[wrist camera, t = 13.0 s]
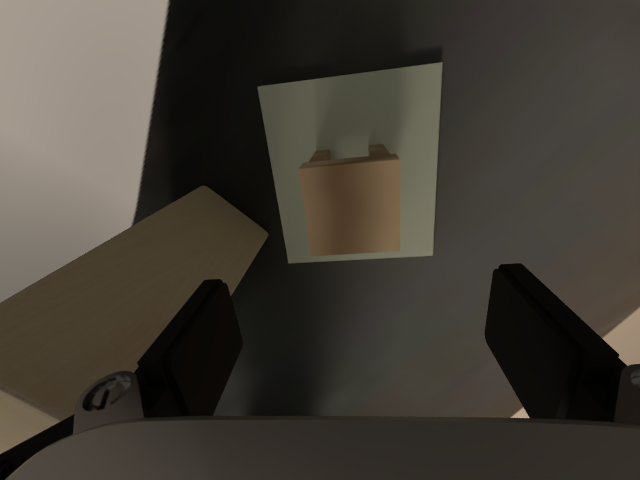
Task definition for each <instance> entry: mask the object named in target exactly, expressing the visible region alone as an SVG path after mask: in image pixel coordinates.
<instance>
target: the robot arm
mask: <svg viewBox="0 0 640 480" xmlns="http://www.w3.org/2000/svg"><path fill="white" fill-rule="evenodd" d="M485 339H486V342H487V344H488V346H489V348H490V350H491V351H492V353H493V355H494V357H495V358H496V360H497V362H498V364H499V365H500V367H501V369H502V370H503V372H504V374H505V376H506V377H507V379H508V381H509V383H510V384H511V386H512V388H513V390H514V391H515V393H516V395H517V397H518V398H519V400H520V402H521V404H522V405H523V407H524V409H525V410H526V412H527V414H528V416H529V417H530V418H488V417H403V416H213V413H214V411H215V409H216V406H217V404H218V402H219V400H220V397H221V395H222V393H223V390H224V388H225V386H226V383H227V381H228V379H229V376H230V374H231V372H232V370H233V367H234V365H235V363H236V360H237V358H238V356H239V353H240V351H241V349H242V343H243V341H242V336H241V332H240V328H239V325H238V321H237V318H236V314H235V310H234V307H233V303H232V299H231V296H230V292H229V288H228V285H227V283H225V282H224V283H223V281H222V280H221V279H208V280H204V281H203V282H202V283H201V284H200V285H199V287H198V288H197V289H196V290H195V292H194V293H193V294H192V295H191V297H190V298H189V299H188V300H187V301H186V303H185V304H184V305H183V306H182V308H181V309H180V310H179V311H178V313H177V314H176V315H175V316H174V317H173V319H172V320H171V321H170V322H169V324H168V325H167V326H166V327H165V329H164V330H163V331H162V332H161V333H160V335H159V336H158V337H157V338H156V340H155V341H154V342H153V343H152V345H151V346H150V347H149V348H148V349H147V351H146V352H145V353H144V354H143V356H142V357H141V358H140V359H139V361H138V362H137V364H138V366H139V367H138V368H137V369H136V370H135V372H134V373H133V372H131V371H119V372H115V373H112V374H109V375H107V376H105V377H103V378H101V379H99V380H98V381H96V382H95V383H93V384H92V385H91V386H89V387H88V388H87V389H86V390H85V391H84V392H83V393H82V394H81V396H80V397H79V399H78V400H77V403H76V406H75V414H73V415H72V416H70V417H68V418H66V419H64V420H62V421H60V422H59V423H57V424H55V425H53V426H51V427H49V428H48V429H46V430H44V431H42V432H40V433H38V434H36V435H35V436H33V437H31V438H29V439H27V440H25V441H24V442H22V443H20V444H18V445H16V446H14V447H12V448H11V449H9V450H7V451H5V452H3V453H1V454H0V480H640V364H634V365H629V366H627V365H626V364H625V363H623V362H622V361H621V360H620V359H619V358H618V357H619V354H618V353H617V352H616V351H615V350H614V349H612V348H611V347H610V346H609V345H608V344H607V343H606V342H605V341H604V340H603V339H602V338H601V337H600V336H599V335H598V334H597V333H595V332H594V331H593V330H592V329H591V328H590V327H589V326H588V325H587V324H586V323H585V322H584V321H583V320H581V319H580V318H579V317H578V316H577V315H576V314H575V313H574V312H573V311H572V310H571V309H570V308H569V307H568V306H566V305H565V304H564V303H563V302H562V301H561V300H560V299H559V298H558V297H557V296H556V295H555V294H554V293H553V292H551V291H550V290H549V289H548V288H547V287H546V286H545V285H544V284H543V283H542V282H541V281H540V280H539V279H537V278H536V277H535V276H534V275H533V274H532V273H531V272H530V271H529V270H528V269H527V268H526V267H525V266H524V265H522V264H519V263H518V264H501V265H500V266H499V268H498V269H495V270H494V271H493V276H492V284H491V291H490V298H489V305H488V312H487V319H486V326H485Z"/></svg>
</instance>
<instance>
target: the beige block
mask: <svg viewBox="0 0 640 480" xmlns="http://www.w3.org/2000/svg"><path fill="white" fill-rule="evenodd" d="M267 237H268V233H267V232H266V231H265V230H264V229H263V228H262V227H260V226H259V225H258V224H256V223H255V222H254V221H252V220H251V219H250V218H248V217H247V216H246V215H244V214H243V213H242V212H240V211H239V210H238V209H236V208H235V207H234V206H232V205H231V204H230V203H228V202H227V201H226V200H224V199H223V198H222V197H221V196H219V195H218V194H217V193H215V192H214V191H213V190H211V189H210V188H208V187H207V186H201V187H199V188H197V189H195V190H193V191H192V192H190V193H188V194H187V195H185V196H183V197H182V198H180V199H178V200H176V201H175V202H173V203H171V204H169V205H168V206H166V207H164V208H163V209H161V210H159V211H157V212H156V213H154V214H152V215H151V216H149V217H147V218H145V219H144V220H142V221H140V222H139V223H137V224H135V225H134V226H132V227H130V228H129V229H127V230H125V231H123V232H122V233H120V234H118V235H117V236H115V237H113V238H111V239H110V240H108V241H106V242H104V243H103V244H101V245H99V246H98V247H96V248H94V249H93V250H91V251H89V252H87V253H85V254H84V255H82V256H80V257H79V258H77V259H75V260H73V261H72V262H70V263H68V264H66V265H65V266H63V267H62V268H60V269H58V270H56V271H54V272H53V273H51V274H49V275H47V276H46V277H44V278H42V279H41V280H39V281H37V282H36V283H34V284H32V285H30V286H28V287H27V288H25V289H23V290H22V291H20V292H18V293H17V294H15V295H13V296H12V297H10V298H8V299H6V300H5V301H3V302H1V303H0V454H1V453H3V452H5V451H7V450H9V449H11V448H12V447H14V446H16V445H18V444H20V443H22V442H24V441H25V440H27V439H29V438H31V437H33V436H35V435H36V434H38V433H40V432H42V431H44V430H46V429H48V428H49V427H51V426H53V425H55V424H57V423H59V422H60V421H62V420H64V419H66V418H68V417H70V416H72V415H73V414H75V406H76V403H77V400H78V399H79V397H80V396H81V394H82V393H83V392H84V391H85V390H86V389H87V388H88V387H89V386H91V385H92V384H93V383H95V382H96V381H98V380H99V379H101V378H103V377H105V376H107V375H109V374H112V373H115V372H119V371H131V372H133V373H134V372H135V370H136V369H137V368H138V367H139V366H138V364H137V362H138V361H139V359H140V358H141V357H142V356H143V354H144V353H145V352H146V351H147V349H148V348H149V347H150V346H151V345H152V343H153V342H154V341H155V340H156V338H157V337H158V336H159V335H160V333H161V332H162V331H163V330H164V329H165V327H166V326H167V325H168V324H169V322H170V321H171V320H172V319H173V317H174V316H175V315H176V314H177V313H178V311H179V310H180V309H181V308H182V306H183V305H184V304H185V303H186V301H187V300H188V299H189V298H190V297H191V295H192V294H193V293H194V292H195V290H196V289H197V288H198V287H199V285H200V284H201V283H202V282H203V281H204V280H208V279H221V280H222V281H223V283H224V282H225V283H227V285H228V288H229V292H230V296H231V295H232V294H233V292H234V290H235V289H236V287H237V286H238V284H239V282H240V281H241V279H242V277H243V276H244V274H245V273H246V271H247V269H248V268H249V266H250V264H251V263H252V261H253V260H254V258H255V256H256V255H257V253H258V252H259V250H260V248H261V247H262V245H263V243H264V242H265V240H266V239H267Z"/></svg>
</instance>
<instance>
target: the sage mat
mask: <svg viewBox="0 0 640 480" xmlns="http://www.w3.org/2000/svg"><path fill="white" fill-rule="evenodd" d="M441 80H442V62H441V63H433V64H426V65H418V66H410V67H403V68H395V69H388V70H380V71H372V72H365V73H357V74H350V75H342V76H334V77H327V78H319V79H312V80H304V81H296V82H289V83H281V84H274V85H266V86H258V93H259V99H260V104H261V110H262V116H263V121H264V127H265V133H266V138H267V144H268V150H269V155H270V161H271V167H272V172H273V178H274V184H275V189H276V195H277V201H278V206H279V212H280V218H281V224H282V229H283V235H284V241H285V246H286V252H287V258H288V263H305V262H324V261H342V260H361V259H380V258H398V257H417V256H433V239H434V219H435V199H436V179H437V159H438V139H439V120H440V100H441ZM377 144H383V145H384V146H385V147H386V149H387V150H388V152H389V153H390V154H396V155H397V156H398V157H399V158H400V251H395V252H378V253H360V254H343V255H326V256H311V254H310V247H309V240H308V233H307V225H306V218H305V211H304V204H303V197H302V190H301V183H300V176H299V168H300V166H301V165H302V163H303V162H309V160H310V159H311V157H312V156H313V154H314V153H315V151H318V150H328V149H330V157H331V160H334V159H344V158H354V157H364V156H369V150H368V145H377Z"/></svg>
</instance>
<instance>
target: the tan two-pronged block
mask: <svg viewBox="0 0 640 480" xmlns="http://www.w3.org/2000/svg"><path fill="white" fill-rule="evenodd" d="M368 150H369V156H364V157H354V158H344V159H334V160H331V157H330V149H328V150H318V151H315V153H314V154H313V156H312V157H311V159H310V160H309V162H303V163H302V165H301V166H300V168H299V176H300V183H301V190H302V197H303V204H304V211H305V218H306V225H307V233H308V240H309V247H310V254H311V256H326V255H343V254H360V253H378V252H395V251H400V158H399V157H398V156H397V155H396V154H390V153H389V152H388V150H387V149H386V147H385V146H384V145H383V144H377V145H368Z"/></svg>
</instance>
